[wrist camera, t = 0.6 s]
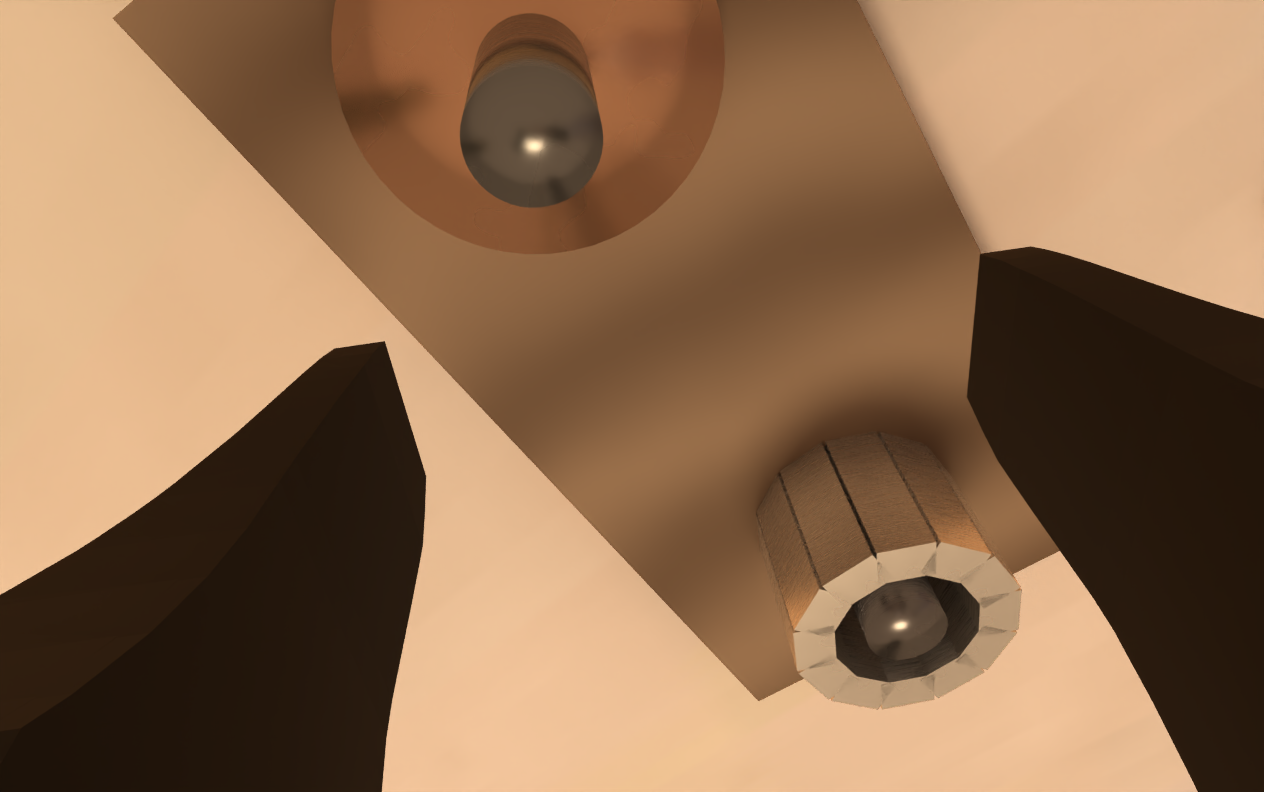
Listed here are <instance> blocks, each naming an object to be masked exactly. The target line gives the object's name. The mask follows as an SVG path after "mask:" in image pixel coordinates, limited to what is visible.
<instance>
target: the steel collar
mask: <svg viewBox="0 0 1264 792" xmlns="http://www.w3.org/2000/svg"><path fill="white" fill-rule="evenodd" d="M780 473H781V474H777V475H776V477H775V478H774V480H773V482H772V484H771V486H770V487H769V489H768V491H767V493H766V495H765V497H764V498H763V500H762V502H761V504H760V506H759V508H758V509H757V511H756V512H757V514H756V520H757V528H758V535H759V543H760V551H761V554H762V557H763V561H764V564H765V567H766V570H767V574H768V577H769V580H770V583H771V587H772V590H773V593H774V597H775V600H776V603H777V606H778V610H779V613H780V616H781V620H782V623H783V626H784V629H785V633H786V636H787V639H788V642H789V646H790V649H791V652H792V656H793V659H794V662H795V665H796V669H797V671H798V673H799V674H800V675H801V676H802V677H803V678H804V679H805V680H807V681H808V682H809V683H810V684H811V685H812V686H813V687H815V688H816V689H817V690H818V691H819V692H820V693H822V694H823V695H824V696H825V697H826V698H827V699H830V698H831V701H835V702H840V703H846V704H851V705H857V706H862V707H867V708H873V709H879V707H880V706H881V708H882V709H887V708H892V707H898V706H903V705H908V704H914V703H919V702H924V701H930V700H934V695H935V696H936V697H937V698H940V697H941V696H943V695H945V694H947V693H948V692H950V691H952V690H954V689H956V688H957V687H959V686H961V685H963V684H965V683H966V682H968V681H970V680H972V679H973V678H975V677H977V676H979V675H981V674H982V673H984V670H983V669H986V670H988V669H989V667H990V666H991V665H992V664H993V662H994V661H995V660H996V659H997V657H998V656H999V655H1000V654H1001V652H1002V651H1003V650H1004V649H1005V647H1006V646H1007V645H1008V643H1009V642H1010V641H1011V640H1012V638H1013V637H1014V636H1015V635H1016V633H1017V632H1016V630H1018V628H1019V616H1020V605H1021V593H1022V590H1021V588H1020V585H1019V583H1018V582H1017V580H1016V579H1015V577H1014V575H1013V574H1012V572H1011V571H1010V569H1009V567H1008V566H1007V564H1006V563H1005V561H1004V559H1003V558H1002V556H1001V555H1000V553H999V551H998V550H997V548H996V547H995V545H994V543H993V542H992V540H991V539H990V537H989V535H988V534H987V532H986V531H985V529H984V527H983V526H982V524H981V523H980V521H979V519H978V518H977V516H976V515H975V513H974V511H973V510H972V508H971V507H970V505H969V503H968V502H967V500H966V499H965V497H964V495H963V494H962V492H961V491H960V489H959V487H958V486H957V484H956V483H955V481H954V479H953V478H952V476H951V475H950V473H949V472H948V471H947V470H946V469H945V467H944V466H943V465H942V464H941V462H940V461H939V460H938V459H937V458H936V456H935V455H934V454H933V453H932V452H931V450H930V449H929V448H928V447H927V445H926V446H925V445H924V443H920V442H917V441H913V440H909V439H906V438H902V437H898V436H895V435H891V434H887V433H884V432H880V431H879V433H878V434H877V433H876V431H874V432H869V433H864V434H859V435H853V436H848V437H843V438H838V439H833V440H827V441H825V446H824V445H823V444H822V443H820V444H818V445H817V446H815V447H814V448H813V449H811V450H810V451H808V452H807V453H805V454H804V455H802V456H801V457H799V458H798V459H796V460H795V461H793V462H792V463H790V464H789V465H788V466H786V467H785V468H783V469H782V470H780ZM921 576H926V577H927V579H928V581H929V583H930V585H931V587H932V589H933V591H934V593H935V595H936V597H937V599H938V601H939V603H940V604H941V606H942V608H943V610H944V612H945V614H946V616H947V620H948V627H947V631H946V633H945V635H944V637H943V638H942V640H941V641H940V642H939V643H938V644H937V645H936V646H935V647H933V648H932V649H931V650H929V651H927V652H926V653H924V654H921V655H919V656H916V657H913V658H909V659H903V660H892V659H886V658H883V657H880V656H878V655H877V654H875V653H874V652H873V651H872V650H871V649H870V647H869V646H868V643H867V641H866V638H865V635H864V633H863V630H862V628H861V625H860V623H859V620H858V618H857V615H856V613H855V610H854V608H853V605H852V604H853V603H855V602H857V601H858V600H860V599H861V598H863V597H865V596H866V595H868V594H870V593H871V592H873V591H875V590H876V589H878V588H879V587H881V586H883V585H884V584H886V583H889V582H895V581H900V580H905V579H911V578H916V577H921Z"/></svg>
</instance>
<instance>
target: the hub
mask: <svg viewBox="0 0 1264 792" xmlns="http://www.w3.org/2000/svg"><path fill="white" fill-rule="evenodd" d="M331 45H332V65H333V72H334V80H335V86H336V90H337V94H338V97H339V101H340V105H341V108H342V112H343V114H344V117H345V119H346V122H347V124H348V127H349V129H350V131H351V134H352V136H353V138H354V140H355V142H356V143H357V145H358V147H359V149H360V151H361V152H362V154H363V156H364V158H365V159H366V161H367V162H368V163H369V165H370V166H371V168H372V169H373V170H374V172H375V173H376V174H377V176H378V177H379V179H380V180H381V181H382V182H383V183H384V184H385V185H386V186H387V187H388V188H389V189H390V191H391V192H392V193H393V194H394V195H395V196H396V197H397V198H398V199H399V200H400V201H402V202H403V203H404V204H405V205H406V206H407V207H409V208H410V209H411V210H412V211H413V212H415V213H416V214H417V215H419V216H420V217H422V218H423V219H425V220H426V221H428V222H429V223H431V224H432V225H434V226H435V227H437V228H439V229H441V230H443V231H445V232H447V233H449V234H451V235H453V236H455V237H457V238H459V239H462V240H464V241H467V242H470V243H473V244H475V245H478V246H481V247H485V248H490V249H494V250H498V251H503V252H511V253H520V254H552V253H560V252H567V251H573V250H577V249H581V248H585V247H589V246H593V245H596V244H598V243H601V242H603V241H606V240H608V239H611V238H613V237H616V236H618V235H619V234H621V233H623V232H625V231H627V230H629V229H630V228H632V227H634V226H636V225H637V224H639V223H640V222H641V221H643V220H644V219H645V218H647V217H648V216H650V215H651V214H652V213H654V212H655V211H656V210H657V209H658V208H659V207H660V206H661V205H662V204H664V203H665V202H666V201H667V200H668V199H669V198H670V197H671V196H672V195H673V194H674V192H675V191H676V190H677V189H678V188H679V187H680V185H681V184H682V183H683V182H684V181H685V179H686V178H687V177H688V175H689V174H690V172H691V170H692V169H693V167H694V166H695V164H696V163H697V161H698V160H699V158H700V156H701V154H702V152H703V150H704V148H705V146H706V144H707V141H708V139H709V137H710V135H711V132H712V129H713V126H714V123H715V120H716V117H717V114H718V110H719V105H720V100H721V95H722V91H723V82H724V69H725V52H724V35H723V29H722V23H721V17H720V12H719V8H718V4H717V1H716V0H336V2H335V6H334V14H333V23H332V31H331Z"/></svg>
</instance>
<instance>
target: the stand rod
mask: <svg viewBox="0 0 1264 792" xmlns="http://www.w3.org/2000/svg"><path fill="white" fill-rule="evenodd" d="M852 605H853V608H854V610H855V613H856V615H857V618H858V620H859V623H860V625H861V628H862V630H863V633H864V635H865V638H866V641H867V643H868V646H869V647H870V649H871V650H872V651H873V652H874V653H875V654H877V655H878V656H880V657H883V658H886V659H892V660H903V659H909V658H913V657H916V656H919V655H921V654H924V653H926V652H927V651H929V650H931V649H932V648H933V647H935V646H936V645H937V644H938V643H939V642H940V641H941V640H942V638H943V637H944V635H945V633H946V631H947V627H948V620H947V616H946V614H945V612H944V610H943V608H942V606H941V604H940V603H939V601H938V599H937V597H936V595H935V593H934V591H933V589H932V587H931V585H930V583H929V581H928V579H927V577H926V576H921V577H916V578H911V579H905V580H900V581H895V582H889V583H886V584H884V585H883V586H881V587H879V588H878V589H876V590H875V591H873V592H871V593H870V594H868V595H866V596H865V597H863V598H861V599H860V600H858V601H857V602H855V603H853V604H852Z"/></svg>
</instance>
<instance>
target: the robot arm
mask: <svg viewBox="0 0 1264 792" xmlns="http://www.w3.org/2000/svg"><path fill="white" fill-rule="evenodd" d="M967 398H968V401H969V403H970V405H971V407H972V409H973V411H974V414H975V416H976V418H977V420H978V422H979V424H980V427H981V429H982V431H983V433H984V435H985V437H986V439H987V441H988V443H989V445H990V447H991V449H992V451H993V453H994V455H995V457H996V459H997V460H998V462H999V463H1000V465H1001V466H1002V468H1003V469H1004V471H1005V472H1006V474H1007V475H1008V477H1009V478H1010V480H1011V481H1012V483H1013V484H1014V486H1015V487H1016V489H1017V490H1018V491H1019V493H1020V494H1021V496H1022V497H1023V499H1024V500H1025V502H1026V503H1027V504H1028V506H1029V507H1030V509H1031V510H1032V512H1033V513H1034V515H1035V516H1036V517H1037V519H1038V520H1039V522H1040V523H1041V524H1042V526H1043V527H1044V529H1045V530H1046V532H1047V533H1048V534H1049V536H1050V537H1051V539H1052V540H1053V541H1054V543H1055V544H1056V546H1057V547H1058V549H1059V550H1060V551H1061V553H1062V554H1063V556H1064V557H1065V558H1066V560H1067V561H1068V563H1069V564H1070V566H1071V567H1072V568H1073V570H1074V571H1075V573H1076V574H1077V576H1078V577H1079V578H1080V580H1081V581H1082V583H1083V584H1084V585H1085V587H1086V588H1087V590H1088V591H1089V593H1090V594H1091V595H1092V597H1093V598H1094V600H1095V601H1096V603H1097V605H1098V606H1099V608H1100V609H1101V611H1102V613H1103V614H1104V616H1105V617H1106V619H1107V620H1108V622H1109V624H1110V625H1111V627H1112V628H1113V630H1114V632H1115V633H1116V635H1117V637H1118V639H1119V641H1120V643H1121V644H1122V646H1123V648H1124V650H1125V652H1126V654H1127V656H1128V657H1129V659H1130V661H1131V663H1132V665H1133V667H1134V668H1135V670H1136V672H1137V674H1138V676H1139V678H1140V679H1141V681H1142V683H1143V685H1144V687H1145V689H1146V690H1147V692H1148V694H1149V696H1150V698H1151V700H1152V701H1153V703H1154V705H1155V707H1156V709H1157V711H1158V713H1159V715H1160V717H1161V719H1162V721H1163V723H1164V725H1165V727H1166V729H1167V731H1168V733H1169V735H1170V737H1171V739H1172V741H1173V743H1174V745H1175V747H1176V749H1177V751H1178V753H1179V755H1180V757H1181V759H1182V761H1183V763H1184V765H1185V767H1186V769H1187V771H1188V773H1189V775H1190V777H1191V779H1192V781H1193V783H1194V785H1195V787H1196V789H1197V791H1198V792H1264V318H1260V317H1257V316H1253V315H1250V314H1246V313H1243V312H1239V311H1236V310H1233V309H1229V308H1226V307H1223V306H1220V305H1217V304H1213V303H1210V302H1207V301H1204V300H1201V299H1198V298H1195V297H1192V296H1189V295H1185V294H1182V293H1179V292H1176V291H1173V290H1170V289H1167V288H1164V287H1162V286H1159V285H1156V284H1153V283H1150V282H1147V281H1144V280H1141V279H1138V278H1135V277H1132V276H1129V275H1126V274H1123V273H1120V272H1117V271H1114V270H1111V269H1109V268H1106V267H1103V266H1100V265H1097V264H1094V263H1091V262H1088V261H1084V260H1081V259H1078V258H1075V257H1071V256H1068V255H1065V254H1061V253H1058V252H1054V251H1050V250H1046V249H1041V248H1035V247H1025V248H1018V249H1011V250H1004V251H997V252H990V253H984V254H980V258H979V269H978V280H977V291H976V302H975V313H974V323H973V334H972V345H971V356H970V367H969V378H968V388H967ZM425 492H426V475H425V471H424V468H423V465H422V462H421V458H420V455H419V452H418V449H417V445H416V442H415V439H414V436H413V432H412V429H411V426H410V422H409V419H408V416H407V413H406V409H405V406H404V403H403V400H402V396H401V393H400V390H399V386H398V383H397V380H396V377H395V373H394V370H393V367H392V364H391V360H390V357H389V354H388V351H387V347H386V344H385V341H383V342H377V343H370V344H363V345H356V346H349V347H343V348H336V349H333V350H332V351H330V352H329V353H327V354H326V355H325V356H323V357H322V358H321V359H319V360H318V361H317V362H316V363H315V364H313V365H312V366H311V367H310V368H309V369H308V370H306V371H305V372H304V373H303V374H302V375H301V376H300V377H298V378H297V379H296V380H295V381H294V382H293V383H292V384H291V385H290V386H288V387H287V388H286V389H285V390H284V391H283V392H282V393H281V394H280V395H278V396H277V397H276V398H275V399H274V400H273V401H272V402H271V403H269V404H268V405H267V406H266V407H265V408H264V409H263V410H262V411H260V412H259V413H258V414H257V415H256V416H255V417H254V418H253V419H251V420H250V421H249V422H248V423H247V424H246V425H245V426H244V427H242V428H241V429H240V430H239V431H238V432H237V433H236V434H234V435H233V436H232V437H231V438H230V439H228V440H227V441H226V442H225V443H224V444H222V445H221V446H220V447H219V448H217V449H216V450H215V451H214V452H212V453H211V454H210V455H209V456H208V457H206V458H205V459H204V460H203V461H201V462H200V463H199V464H198V465H196V466H195V467H194V468H193V469H192V470H190V471H189V472H188V473H187V474H185V475H184V476H183V477H182V478H180V479H179V480H178V481H177V482H176V483H174V484H173V485H172V486H170V487H169V488H168V489H166V490H165V491H164V492H162V493H161V494H160V495H158V496H157V497H156V498H154V499H153V500H152V501H150V502H149V503H147V504H146V505H145V506H143V507H142V508H140V509H139V510H138V511H136V512H135V513H133V514H132V515H130V516H129V517H127V518H126V519H124V520H123V521H121V522H120V523H118V524H117V525H115V526H114V527H112V528H111V529H109V530H108V531H106V532H105V533H104V534H102V535H101V536H99V537H98V538H96V539H95V540H93V541H91V542H90V543H88V544H87V545H85V546H84V547H82V548H80V549H79V550H77V551H76V552H74V553H72V554H70V555H69V556H67V557H65V558H64V559H62V560H60V561H58V562H57V563H55V564H53V565H51V566H50V567H48V568H46V569H44V570H43V571H41V572H39V573H38V574H36V575H34V576H32V577H31V578H29V579H27V580H25V581H24V582H22V583H20V584H19V585H17V586H15V587H13V588H12V589H10V590H8V591H6V592H5V593H3V594H1V595H0V792H382V782H383V770H384V758H385V747H386V736H387V730H388V723H389V717H390V710H391V704H392V698H393V693H394V688H395V683H396V678H397V673H398V668H399V664H400V659H401V654H402V649H403V644H404V639H405V634H406V629H407V624H408V619H409V614H410V609H411V604H412V599H413V594H414V589H415V584H416V579H417V573H418V568H419V563H420V558H421V552H422V547H423V534H424V517H425Z"/></svg>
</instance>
